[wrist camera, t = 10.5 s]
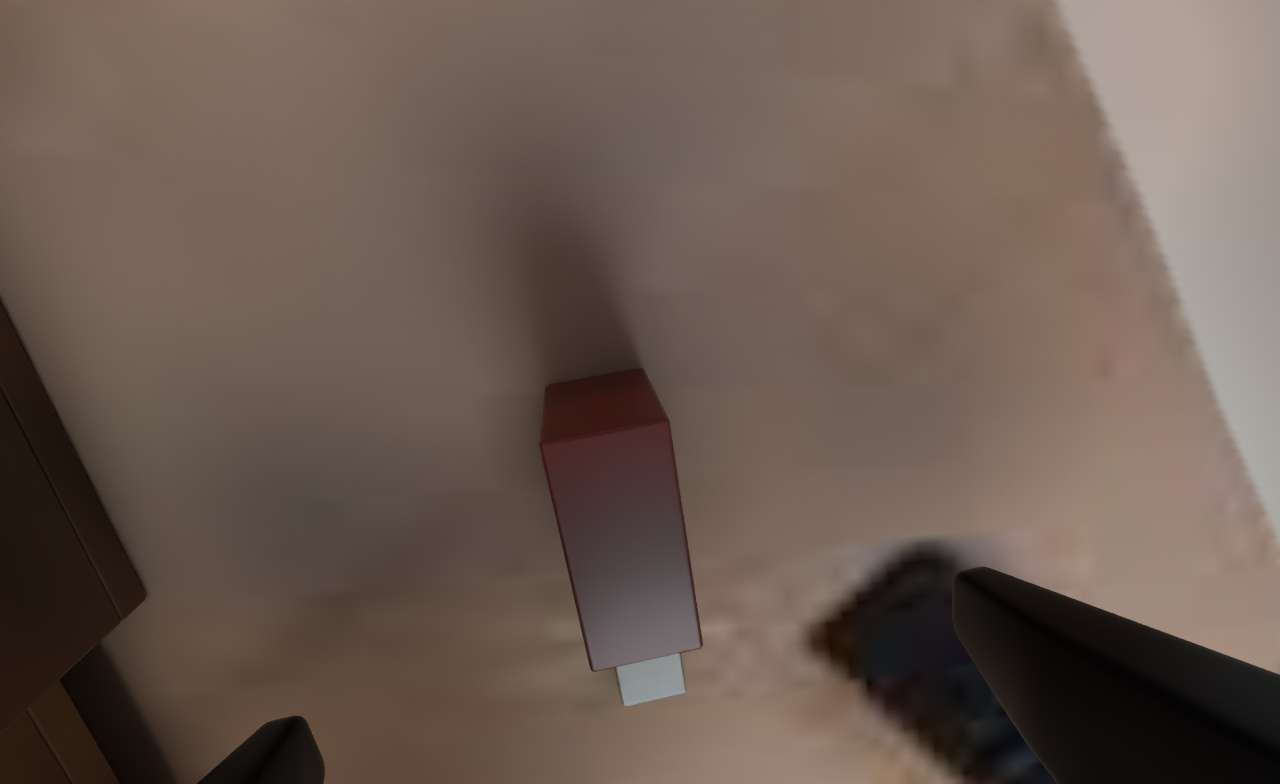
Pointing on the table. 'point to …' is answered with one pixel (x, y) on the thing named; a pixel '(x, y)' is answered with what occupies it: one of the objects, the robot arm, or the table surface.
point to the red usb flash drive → (622, 529)
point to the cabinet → (48, 545)
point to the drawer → (52, 746)
